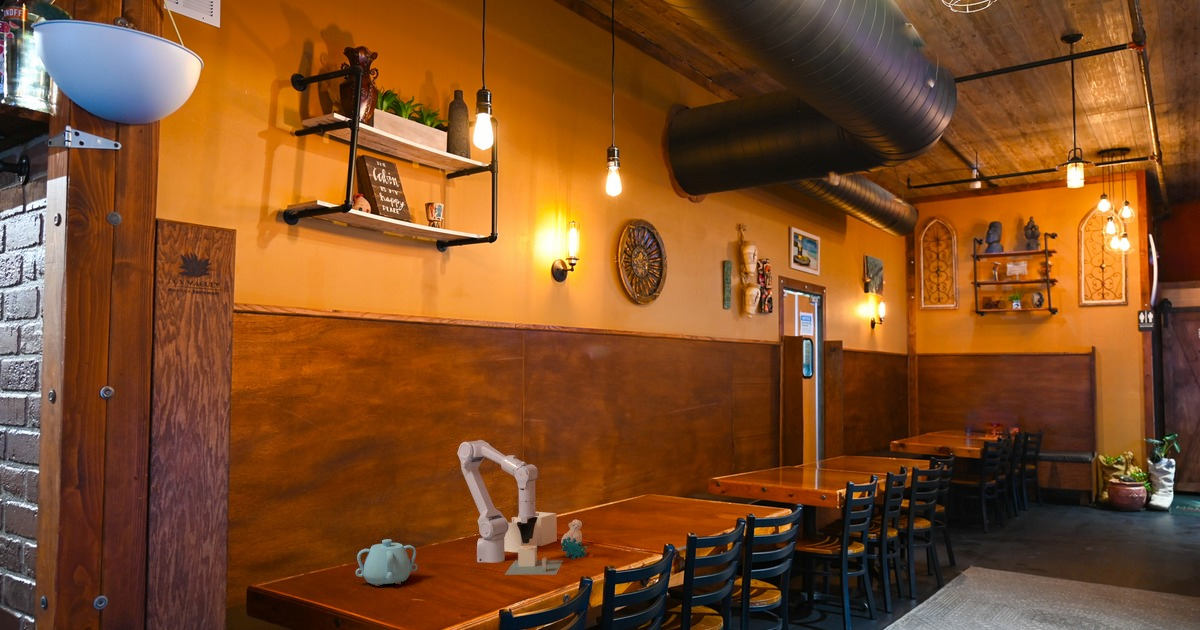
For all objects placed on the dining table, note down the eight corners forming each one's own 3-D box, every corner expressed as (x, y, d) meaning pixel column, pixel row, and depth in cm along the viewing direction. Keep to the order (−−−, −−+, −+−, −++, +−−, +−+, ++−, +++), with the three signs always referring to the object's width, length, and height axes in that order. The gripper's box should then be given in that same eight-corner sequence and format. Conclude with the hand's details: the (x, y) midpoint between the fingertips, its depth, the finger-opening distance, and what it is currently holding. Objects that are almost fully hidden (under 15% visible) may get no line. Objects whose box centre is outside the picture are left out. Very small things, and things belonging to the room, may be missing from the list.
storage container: (521, 553, 310) (520, 523, 311) (497, 551, 316) (496, 521, 316) (556, 541, 332) (556, 513, 333) (533, 539, 337) (533, 511, 338)
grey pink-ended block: (542, 571, 275) (541, 559, 275) (543, 569, 278) (543, 557, 278) (545, 571, 275) (545, 559, 275) (546, 569, 278) (546, 557, 278)
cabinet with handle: (534, 566, 283) (534, 548, 283) (518, 566, 283) (518, 548, 284) (537, 562, 288) (536, 545, 289) (521, 562, 289) (520, 545, 289)
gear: (569, 559, 291) (559, 535, 297) (561, 569, 293) (550, 546, 300) (593, 558, 298) (583, 535, 304) (585, 569, 300) (574, 546, 307)
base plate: (504, 578, 272) (504, 574, 272) (514, 564, 292) (514, 560, 292) (556, 578, 271) (556, 574, 271) (563, 564, 291) (563, 560, 291)
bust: (565, 555, 315) (580, 532, 313) (551, 541, 318) (566, 519, 316) (581, 549, 326) (596, 527, 323) (568, 535, 329) (582, 514, 326)
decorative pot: (349, 585, 267) (349, 542, 268) (386, 574, 281) (386, 533, 282) (386, 591, 259) (386, 546, 259) (422, 579, 272) (422, 537, 273)
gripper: (535, 503, 280) (536, 545, 279) (541, 497, 294) (542, 536, 293) (514, 504, 280) (515, 545, 279) (521, 497, 295) (522, 536, 294)
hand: (527, 540), depth 286 cm, fingers open, 7 cm apart
